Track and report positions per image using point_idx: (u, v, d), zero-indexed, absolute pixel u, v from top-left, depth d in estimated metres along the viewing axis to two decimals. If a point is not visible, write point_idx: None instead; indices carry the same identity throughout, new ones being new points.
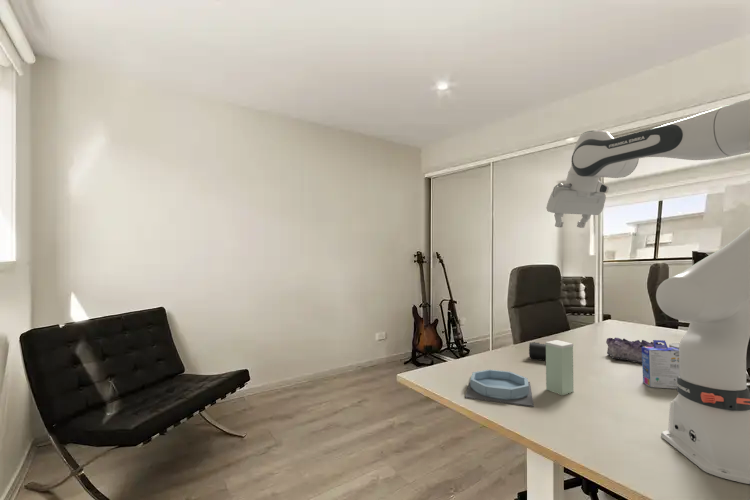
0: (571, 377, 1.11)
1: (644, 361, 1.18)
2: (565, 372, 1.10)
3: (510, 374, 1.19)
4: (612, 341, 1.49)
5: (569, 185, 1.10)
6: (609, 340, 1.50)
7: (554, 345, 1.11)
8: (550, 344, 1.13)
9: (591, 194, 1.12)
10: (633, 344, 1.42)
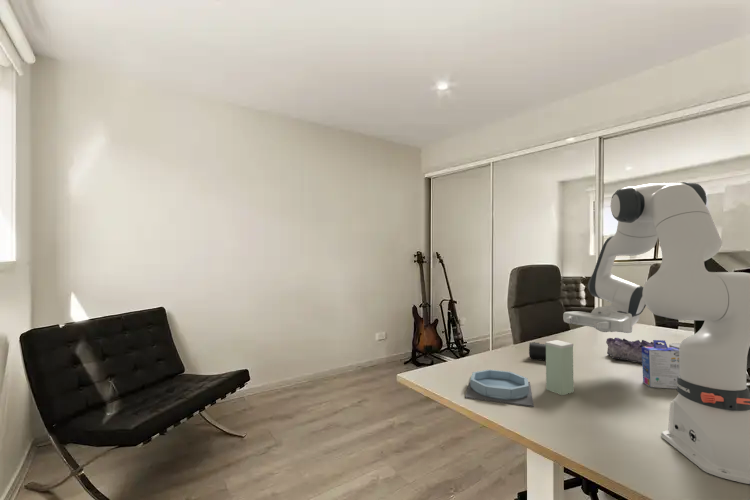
0: (571, 377, 1.11)
1: (644, 361, 1.18)
2: (565, 372, 1.10)
3: (510, 374, 1.19)
4: (612, 341, 1.48)
5: None
6: (609, 340, 1.50)
7: (554, 345, 1.11)
8: (550, 344, 1.13)
9: None
10: (633, 344, 1.42)
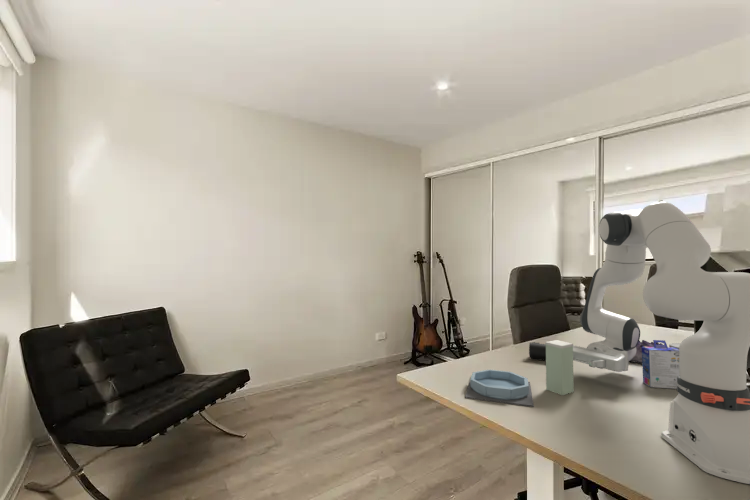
0: (571, 377, 1.11)
1: (644, 361, 1.18)
2: (565, 372, 1.10)
3: (510, 374, 1.19)
4: None
5: None
6: None
7: (554, 345, 1.11)
8: (550, 344, 1.13)
9: None
10: None
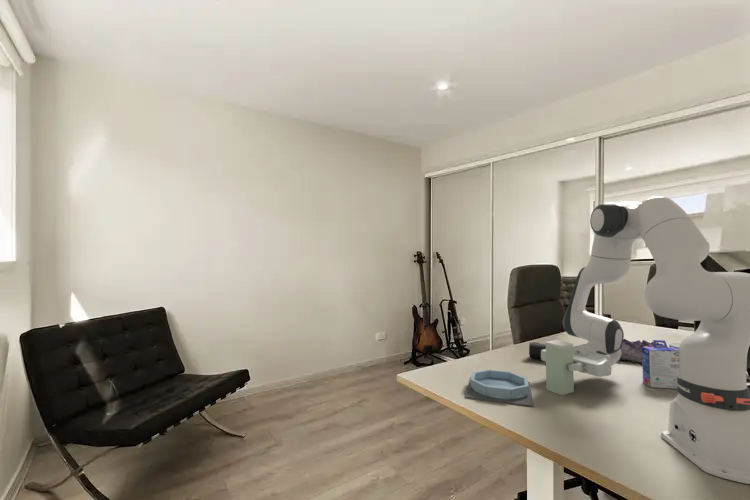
0: (571, 377, 1.11)
1: (644, 361, 1.18)
2: (565, 372, 1.10)
3: (510, 374, 1.19)
4: None
5: None
6: None
7: (554, 345, 1.11)
8: (550, 344, 1.13)
9: None
10: (634, 344, 1.42)
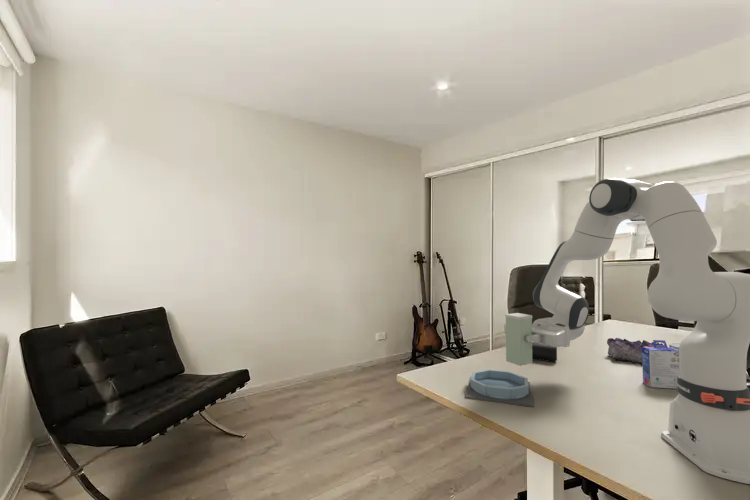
0: (530, 348, 1.12)
1: (644, 361, 1.18)
2: (523, 343, 1.11)
3: (510, 374, 1.19)
4: (613, 341, 1.48)
5: None
6: (610, 340, 1.49)
7: (513, 317, 1.12)
8: (509, 316, 1.14)
9: None
10: (634, 344, 1.41)
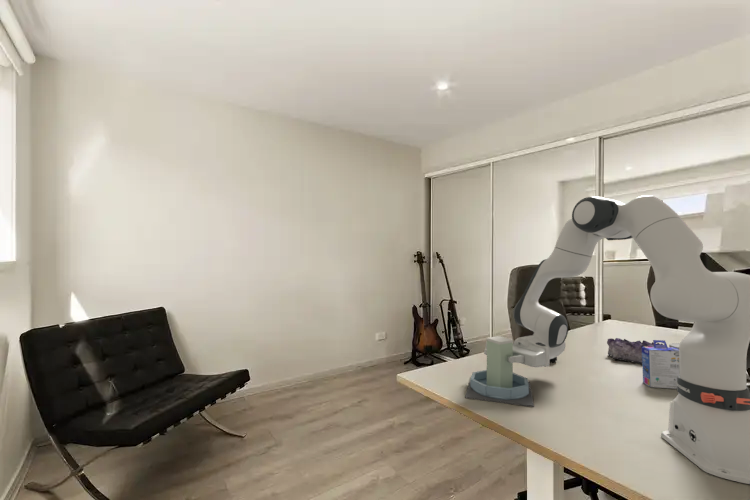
0: (510, 373, 1.12)
1: (644, 361, 1.18)
2: (503, 368, 1.10)
3: None
4: (613, 342, 1.48)
5: None
6: (610, 341, 1.49)
7: (494, 341, 1.12)
8: (490, 340, 1.13)
9: None
10: (634, 345, 1.41)
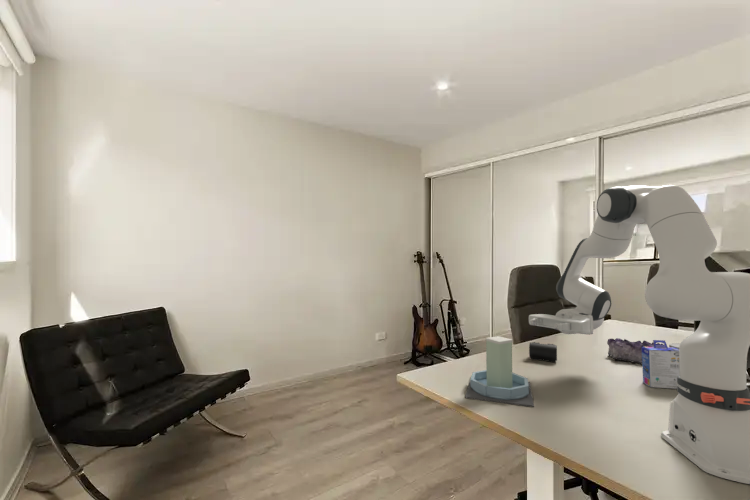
0: (510, 373, 1.12)
1: (644, 361, 1.18)
2: (503, 368, 1.11)
3: None
4: (613, 342, 1.48)
5: None
6: (610, 341, 1.49)
7: (493, 341, 1.12)
8: (490, 340, 1.13)
9: None
10: (634, 345, 1.41)
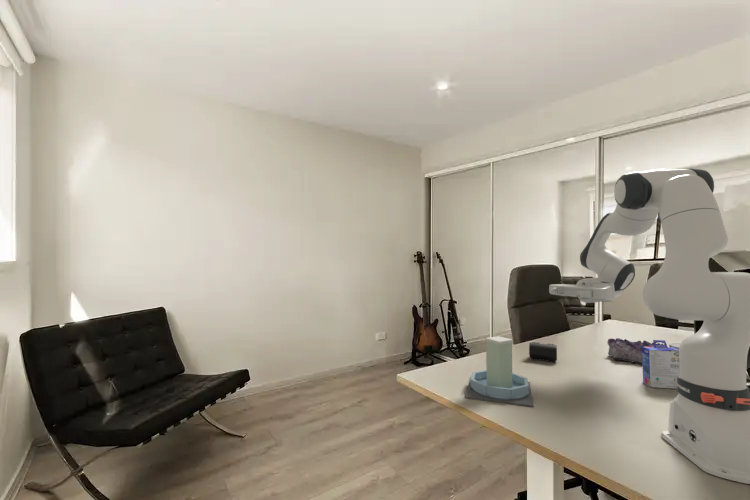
0: (510, 373, 1.12)
1: (644, 361, 1.18)
2: (503, 368, 1.11)
3: None
4: (613, 342, 1.47)
5: None
6: (610, 341, 1.49)
7: (493, 341, 1.12)
8: (490, 340, 1.13)
9: None
10: (635, 345, 1.41)
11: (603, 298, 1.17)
